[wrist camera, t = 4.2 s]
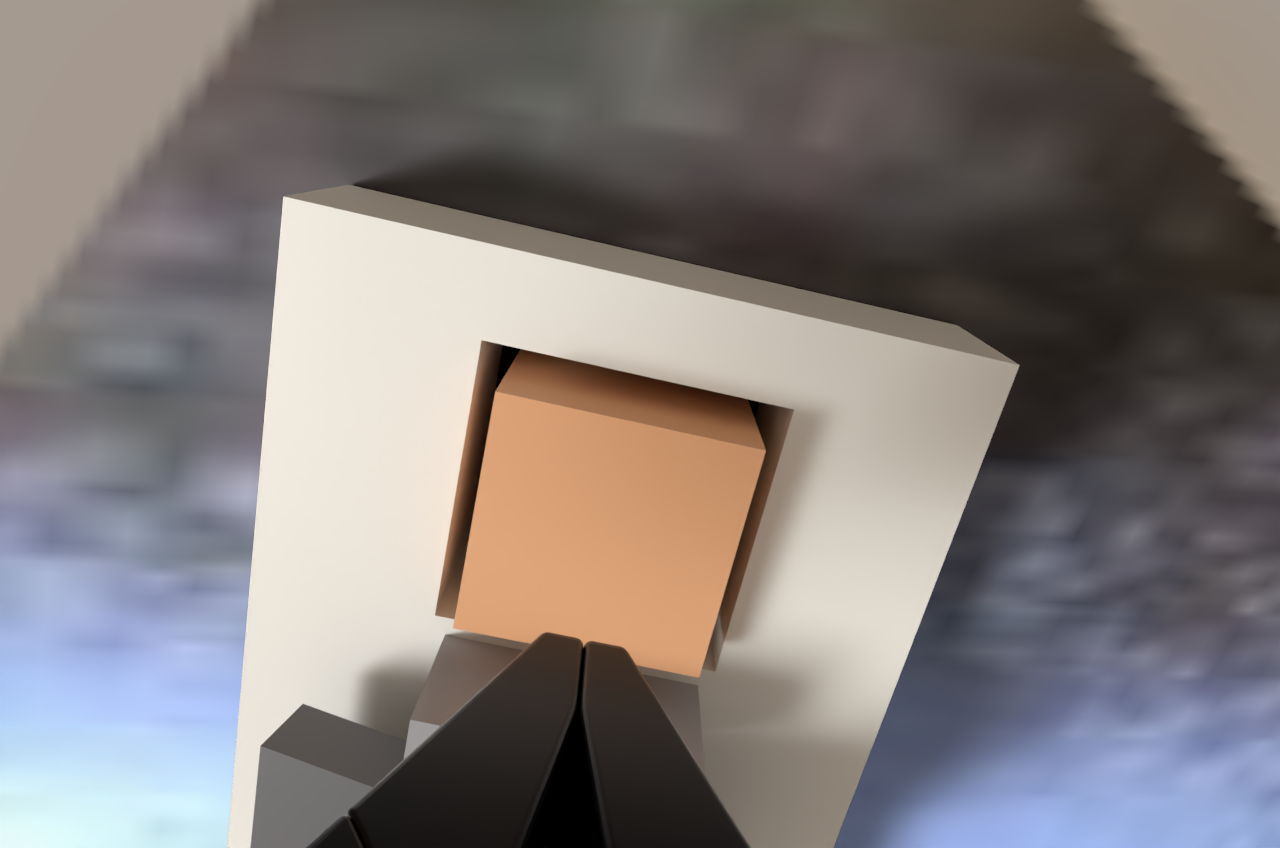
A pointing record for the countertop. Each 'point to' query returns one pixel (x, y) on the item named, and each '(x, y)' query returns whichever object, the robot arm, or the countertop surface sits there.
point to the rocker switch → (316, 775)
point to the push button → (608, 510)
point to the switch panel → (452, 459)
